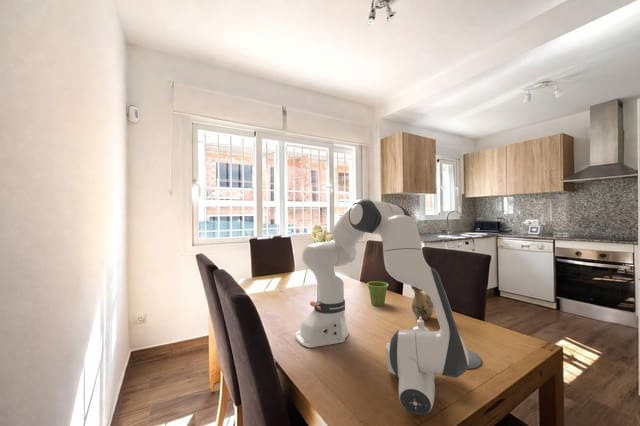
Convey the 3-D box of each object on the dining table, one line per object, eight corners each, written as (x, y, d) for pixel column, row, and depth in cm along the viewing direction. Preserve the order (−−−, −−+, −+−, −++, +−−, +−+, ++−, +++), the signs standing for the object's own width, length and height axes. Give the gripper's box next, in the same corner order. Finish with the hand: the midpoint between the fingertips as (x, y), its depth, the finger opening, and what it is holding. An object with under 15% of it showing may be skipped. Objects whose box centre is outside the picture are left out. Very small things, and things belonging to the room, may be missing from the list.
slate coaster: (462, 374, 81) (462, 372, 81) (423, 352, 95) (423, 350, 95) (490, 361, 88) (490, 359, 88) (450, 342, 101) (450, 341, 101)
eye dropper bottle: (425, 355, 93) (425, 321, 93) (411, 349, 97) (410, 316, 97) (431, 350, 96) (430, 317, 96) (416, 345, 100) (416, 313, 100)
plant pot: (391, 307, 141) (390, 286, 141) (369, 307, 141) (368, 286, 141) (386, 300, 152) (385, 281, 153) (365, 300, 153) (365, 281, 153)
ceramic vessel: (422, 326, 116) (421, 270, 117) (404, 320, 124) (403, 267, 124) (441, 317, 126) (440, 265, 127) (424, 312, 134) (423, 263, 134)
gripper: (457, 363, 72) (453, 341, 85) (382, 349, 80) (389, 331, 93) (458, 386, 72) (454, 360, 85) (383, 370, 80) (389, 348, 93)
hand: (419, 345), depth 89 cm, fingers open, 8 cm apart
